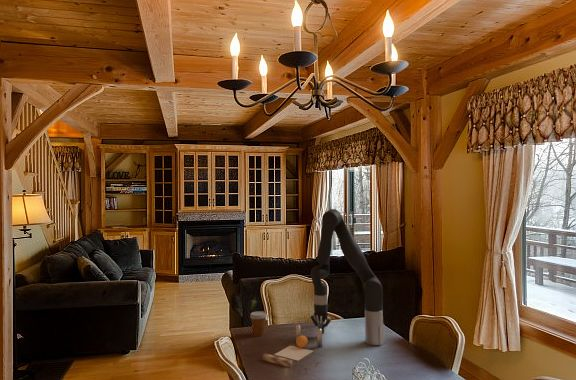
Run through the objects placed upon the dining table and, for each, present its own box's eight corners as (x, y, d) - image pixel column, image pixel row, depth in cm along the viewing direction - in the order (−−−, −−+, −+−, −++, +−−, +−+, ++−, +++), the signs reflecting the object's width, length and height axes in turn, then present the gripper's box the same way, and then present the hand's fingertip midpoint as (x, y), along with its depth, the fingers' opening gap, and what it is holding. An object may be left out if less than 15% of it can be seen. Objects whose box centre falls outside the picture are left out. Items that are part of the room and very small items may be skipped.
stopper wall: (292, 365, 187) (292, 360, 187) (290, 367, 185) (290, 361, 185) (265, 358, 196) (265, 353, 196) (262, 359, 194) (262, 354, 194)
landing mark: (313, 351, 204) (313, 350, 204) (298, 360, 192) (298, 360, 192) (290, 345, 212) (290, 345, 212) (274, 354, 200) (274, 354, 200)
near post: (323, 346, 210) (322, 328, 210) (320, 347, 208) (320, 330, 208) (318, 345, 212) (318, 327, 212) (316, 346, 210) (315, 329, 210)
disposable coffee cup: (268, 332, 234) (267, 311, 235) (265, 337, 225) (265, 315, 225) (252, 331, 235) (251, 310, 236) (248, 337, 226) (248, 315, 226)
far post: (301, 341, 218) (301, 324, 218) (299, 343, 215) (298, 326, 216) (297, 340, 219) (297, 323, 219) (295, 342, 217) (294, 325, 217)
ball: (311, 342, 211) (307, 333, 209) (306, 350, 206) (302, 340, 205) (301, 342, 214) (297, 332, 213) (296, 349, 209) (292, 340, 208)
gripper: (306, 302, 225) (307, 334, 225) (327, 305, 218) (328, 338, 217) (313, 299, 231) (314, 330, 231) (334, 302, 224) (335, 334, 224)
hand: (321, 334), depth 224 cm, fingers closed
